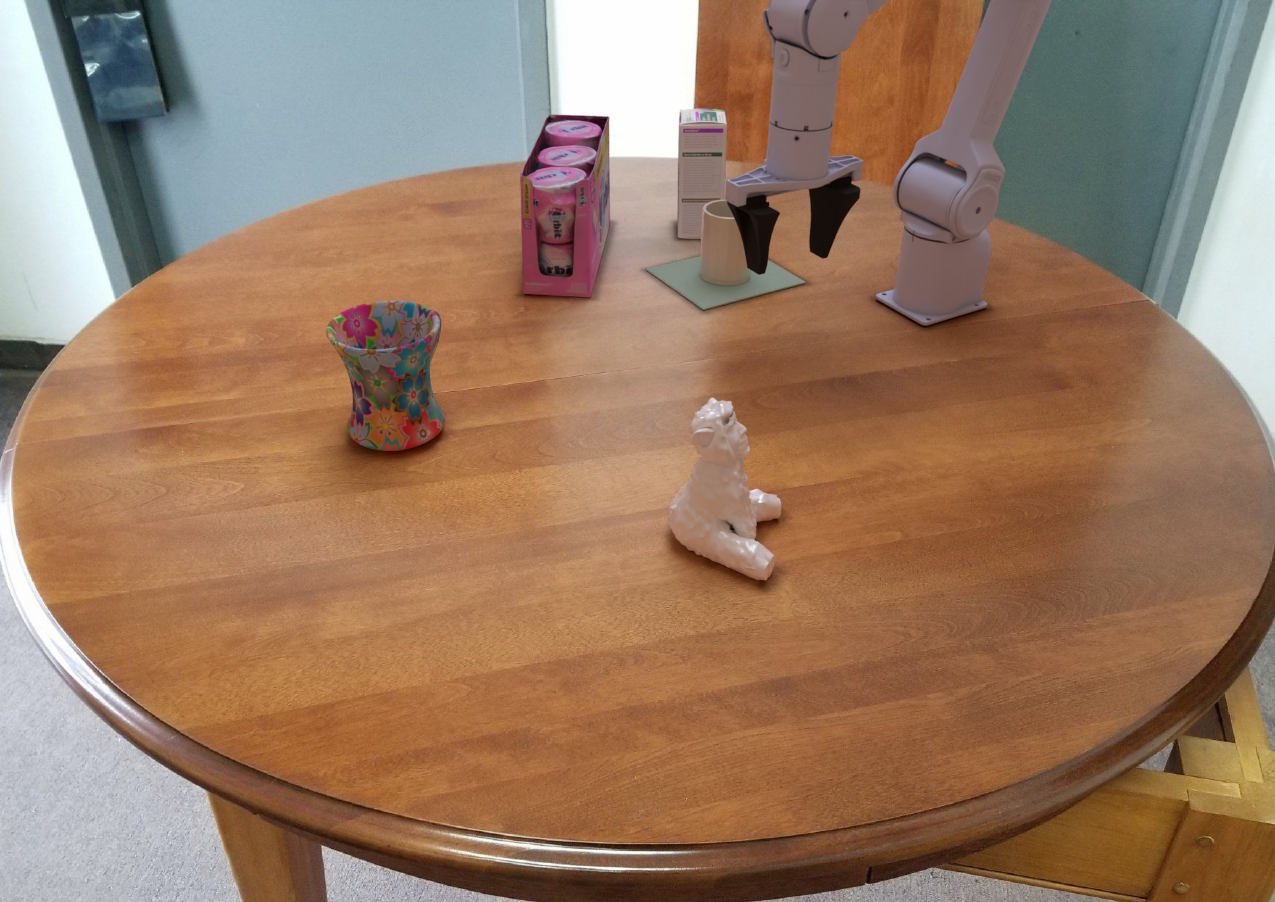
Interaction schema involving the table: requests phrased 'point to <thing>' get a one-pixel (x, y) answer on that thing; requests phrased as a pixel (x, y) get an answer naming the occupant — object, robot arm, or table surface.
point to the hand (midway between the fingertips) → (787, 262)
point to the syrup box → (699, 166)
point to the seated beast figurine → (723, 497)
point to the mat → (709, 295)
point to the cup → (721, 247)
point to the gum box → (565, 205)
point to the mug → (389, 372)
